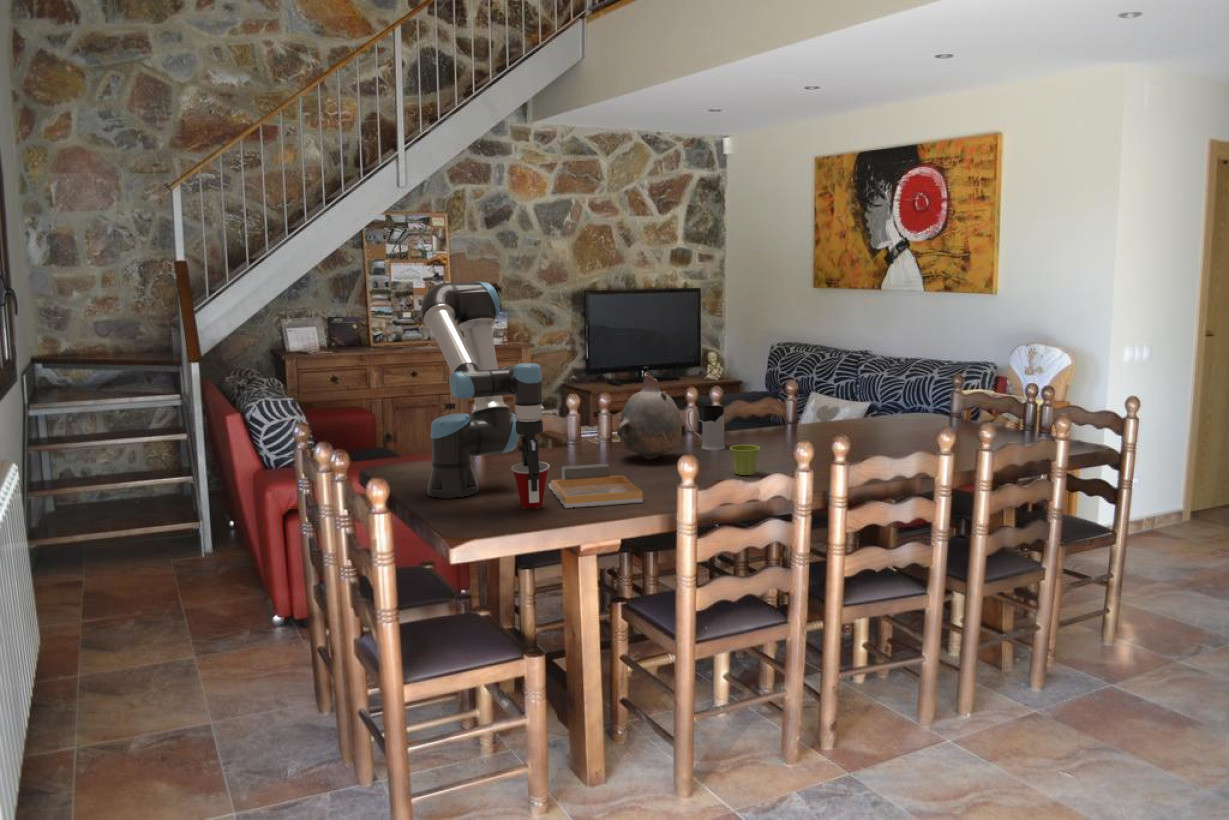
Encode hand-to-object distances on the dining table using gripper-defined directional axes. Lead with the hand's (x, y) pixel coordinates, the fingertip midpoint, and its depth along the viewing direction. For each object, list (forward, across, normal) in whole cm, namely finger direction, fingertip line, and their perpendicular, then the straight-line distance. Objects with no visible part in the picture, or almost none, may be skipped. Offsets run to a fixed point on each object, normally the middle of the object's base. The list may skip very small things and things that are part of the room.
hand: (531, 498), depth 283 cm
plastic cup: (+3, 0, 0) cm, 3 cm away
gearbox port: (+3, +9, -20) cm, 22 cm away
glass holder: (+3, +69, -75) cm, 102 cm away
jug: (+3, +54, -50) cm, 74 cm away
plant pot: (+3, +22, -72) cm, 75 cm away
